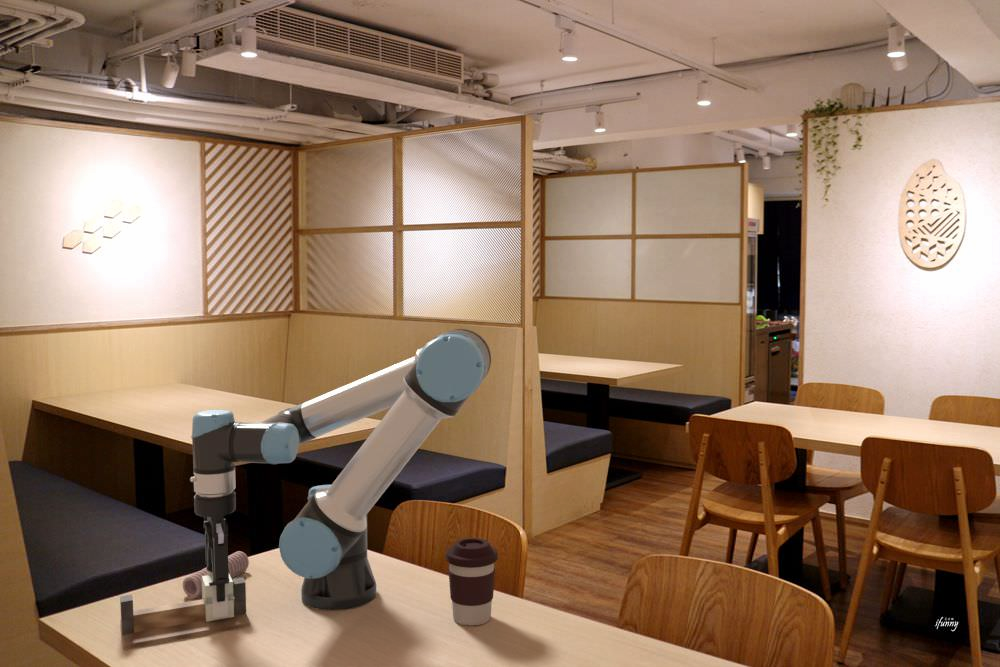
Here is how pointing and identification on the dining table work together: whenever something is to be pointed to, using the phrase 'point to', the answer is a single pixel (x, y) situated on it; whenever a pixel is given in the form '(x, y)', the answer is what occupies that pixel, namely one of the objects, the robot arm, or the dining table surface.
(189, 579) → the coil
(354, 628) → the dining table surface
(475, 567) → the coffee cup
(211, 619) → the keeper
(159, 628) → the track
